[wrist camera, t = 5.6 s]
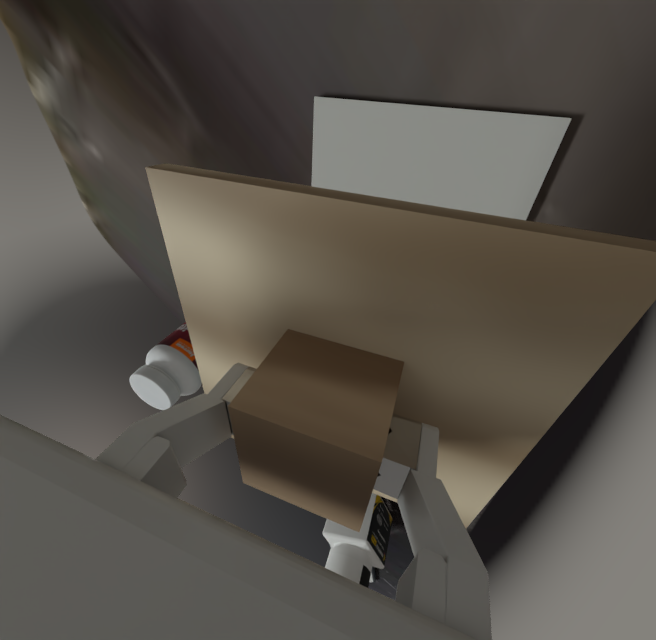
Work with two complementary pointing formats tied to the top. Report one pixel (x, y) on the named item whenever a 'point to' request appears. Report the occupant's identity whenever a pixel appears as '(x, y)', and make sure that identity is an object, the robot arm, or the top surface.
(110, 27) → the top surface
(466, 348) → the lid
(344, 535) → the medicine bottle
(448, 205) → the mat
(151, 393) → the pill bottle
